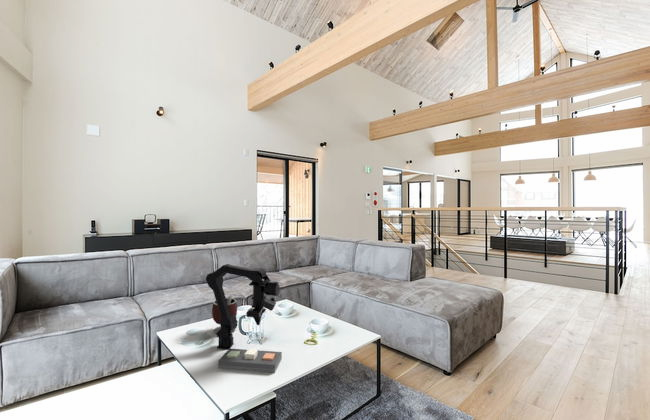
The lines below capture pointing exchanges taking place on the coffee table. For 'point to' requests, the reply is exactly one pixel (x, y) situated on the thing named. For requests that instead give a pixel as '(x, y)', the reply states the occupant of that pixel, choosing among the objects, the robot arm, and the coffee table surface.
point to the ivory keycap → (251, 354)
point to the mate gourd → (216, 313)
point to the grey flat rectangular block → (250, 362)
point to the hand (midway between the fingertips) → (258, 325)
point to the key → (312, 340)
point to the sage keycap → (233, 354)
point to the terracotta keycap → (269, 356)
